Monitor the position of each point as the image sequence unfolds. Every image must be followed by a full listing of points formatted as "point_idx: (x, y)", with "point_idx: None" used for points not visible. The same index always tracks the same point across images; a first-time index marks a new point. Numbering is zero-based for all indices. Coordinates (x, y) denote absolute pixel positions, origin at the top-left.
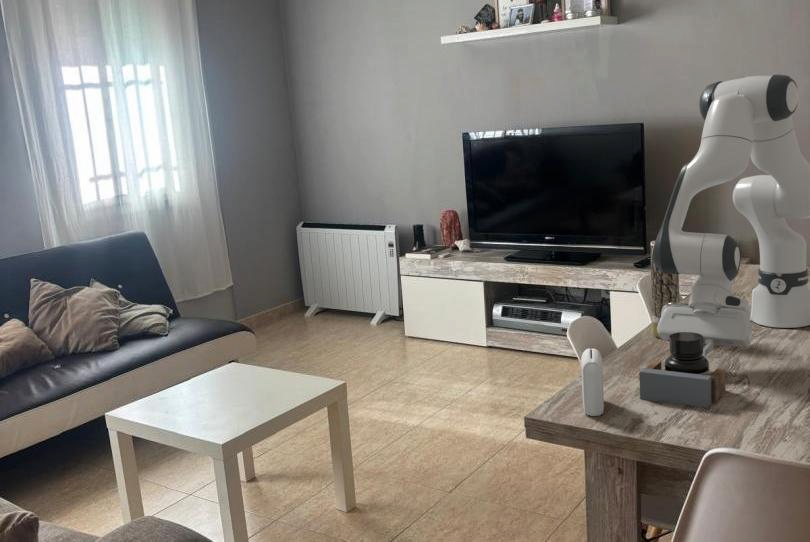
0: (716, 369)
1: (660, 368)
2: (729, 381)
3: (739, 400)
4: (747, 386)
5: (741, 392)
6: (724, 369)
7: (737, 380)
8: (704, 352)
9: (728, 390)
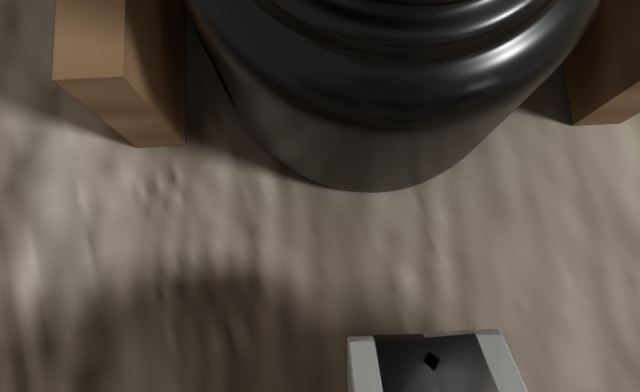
0: (116, 6)
1: (637, 49)
2: (153, 341)
3: (17, 16)
4: (13, 286)
5: (31, 154)
6: (57, 63)
7: (104, 389)
8: (353, 381)
9: (117, 157)
